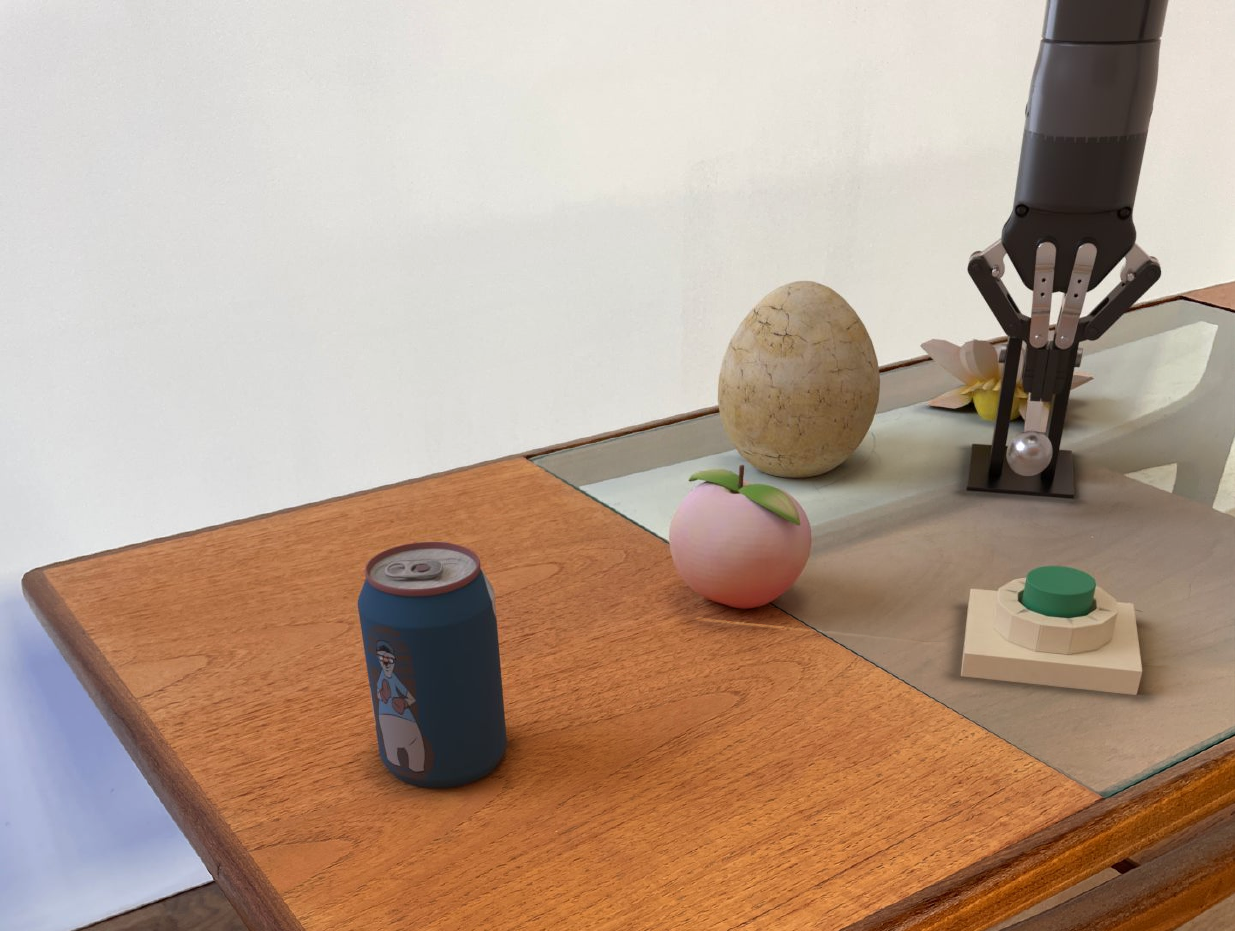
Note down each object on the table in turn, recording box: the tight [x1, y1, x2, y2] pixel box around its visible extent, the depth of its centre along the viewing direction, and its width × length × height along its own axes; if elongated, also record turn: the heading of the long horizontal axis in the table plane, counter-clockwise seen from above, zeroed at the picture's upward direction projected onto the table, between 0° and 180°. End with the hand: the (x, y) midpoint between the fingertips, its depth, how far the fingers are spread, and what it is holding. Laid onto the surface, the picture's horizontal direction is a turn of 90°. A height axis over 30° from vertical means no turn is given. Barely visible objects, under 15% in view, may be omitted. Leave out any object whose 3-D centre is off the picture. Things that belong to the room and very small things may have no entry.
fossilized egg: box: [717, 280, 881, 479], centre depth 101 cm, size 13×13×15 cm
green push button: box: [1022, 565, 1097, 618], centre depth 77 cm, size 4×4×2 cm
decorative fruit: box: [668, 464, 812, 610], centre depth 82 cm, size 9×8×10 cm
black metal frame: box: [966, 336, 1084, 500], centre depth 100 cm, size 10×8×12 cm
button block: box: [960, 577, 1143, 696], centre depth 78 cm, size 10×9×4 cm
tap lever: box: [1006, 330, 1055, 476], centre depth 95 cm, size 13×3×3 cm, turn 165°
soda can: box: [357, 541, 508, 789], centre depth 67 cm, size 7×7×12 cm
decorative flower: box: [919, 338, 1095, 433], centre depth 113 cm, size 15×11×10 cm
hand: (1041, 398), depth 91 cm, fingers closed
